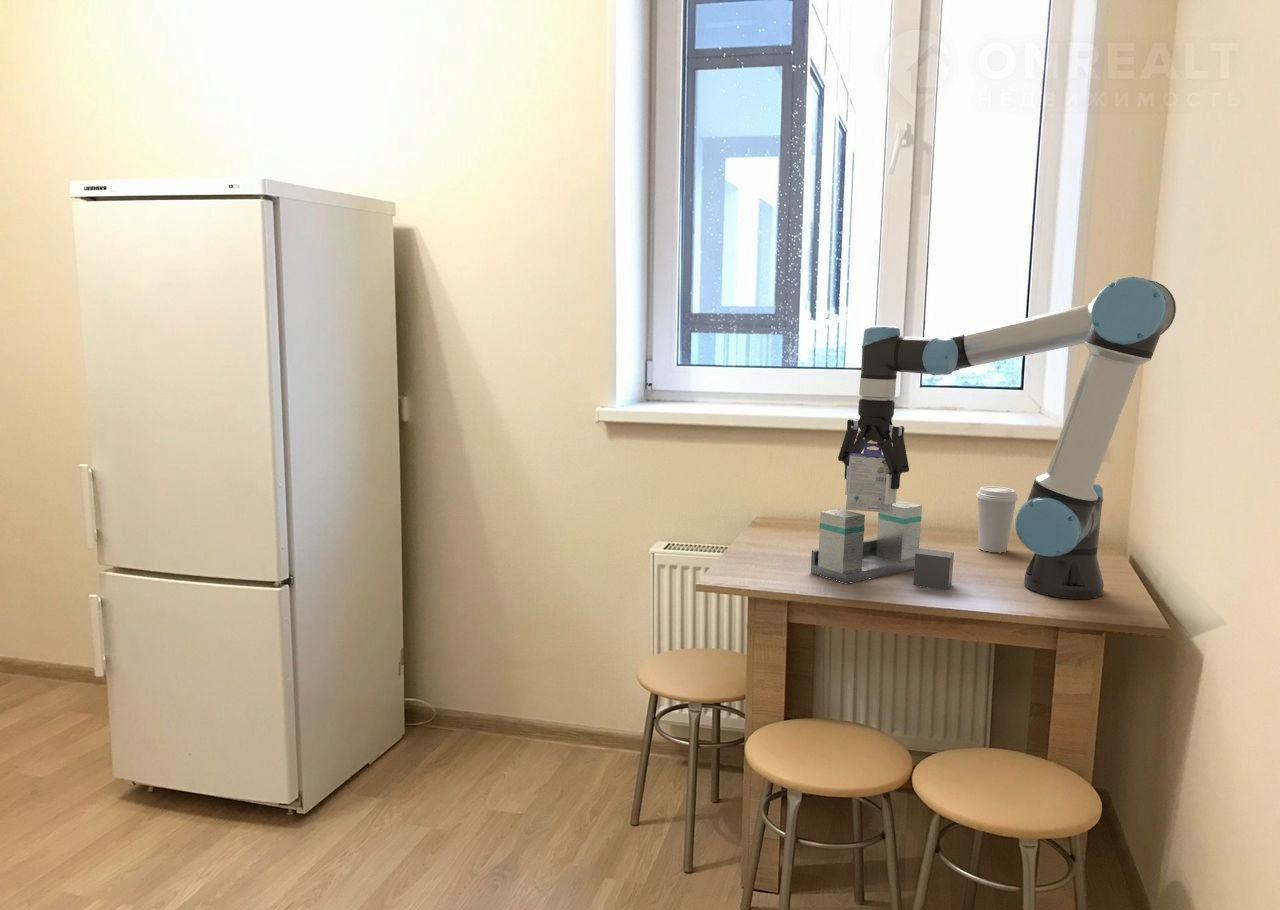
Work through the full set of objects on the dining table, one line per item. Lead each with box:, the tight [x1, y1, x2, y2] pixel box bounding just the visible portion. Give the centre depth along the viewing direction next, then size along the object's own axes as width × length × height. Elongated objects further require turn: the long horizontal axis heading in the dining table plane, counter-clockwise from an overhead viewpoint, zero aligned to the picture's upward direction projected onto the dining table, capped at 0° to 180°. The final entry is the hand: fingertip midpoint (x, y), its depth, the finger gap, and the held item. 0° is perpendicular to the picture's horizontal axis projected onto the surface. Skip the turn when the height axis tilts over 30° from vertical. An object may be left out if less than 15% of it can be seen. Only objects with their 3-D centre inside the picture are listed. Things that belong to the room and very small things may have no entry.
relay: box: [912, 547, 955, 591], centre depth 199 cm, size 5×7×7 cm
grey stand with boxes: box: [810, 499, 923, 584], centre depth 209 cm, size 10×25×14 cm, turn 126°
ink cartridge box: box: [845, 442, 892, 513], centre depth 207 cm, size 10×6×14 cm, turn 77°
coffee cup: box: [975, 485, 1019, 553], centre depth 230 cm, size 10×10×15 cm
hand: (870, 498), depth 208 cm, fingers closed on ink cartridge box, 10 cm apart
